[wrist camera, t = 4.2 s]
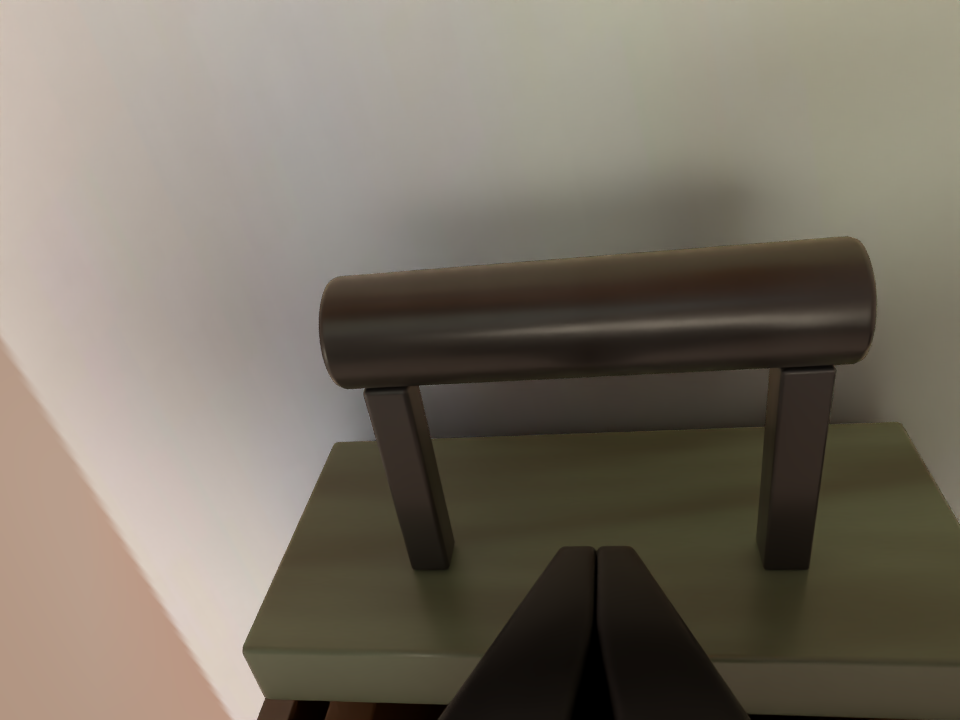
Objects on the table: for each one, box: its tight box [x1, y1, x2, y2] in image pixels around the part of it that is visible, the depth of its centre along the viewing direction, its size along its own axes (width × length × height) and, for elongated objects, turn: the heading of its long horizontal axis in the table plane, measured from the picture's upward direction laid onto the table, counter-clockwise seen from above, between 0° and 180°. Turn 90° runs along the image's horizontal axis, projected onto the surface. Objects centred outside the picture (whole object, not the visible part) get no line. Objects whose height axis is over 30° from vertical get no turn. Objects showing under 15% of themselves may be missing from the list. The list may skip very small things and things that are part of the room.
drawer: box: [243, 236, 960, 720], centre depth 13 cm, size 17×10×5 cm, turn 8°
